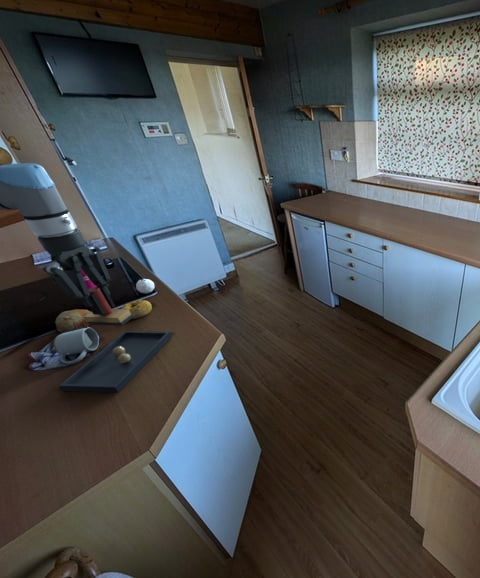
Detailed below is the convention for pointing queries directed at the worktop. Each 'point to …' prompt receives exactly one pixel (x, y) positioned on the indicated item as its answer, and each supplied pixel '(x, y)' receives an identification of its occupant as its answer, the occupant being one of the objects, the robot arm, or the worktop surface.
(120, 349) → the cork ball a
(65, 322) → the bread roll
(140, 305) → the bagel
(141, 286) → the white ovoid
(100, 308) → the robot arm
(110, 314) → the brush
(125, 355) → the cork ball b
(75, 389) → the tray
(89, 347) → the ceramic mug
